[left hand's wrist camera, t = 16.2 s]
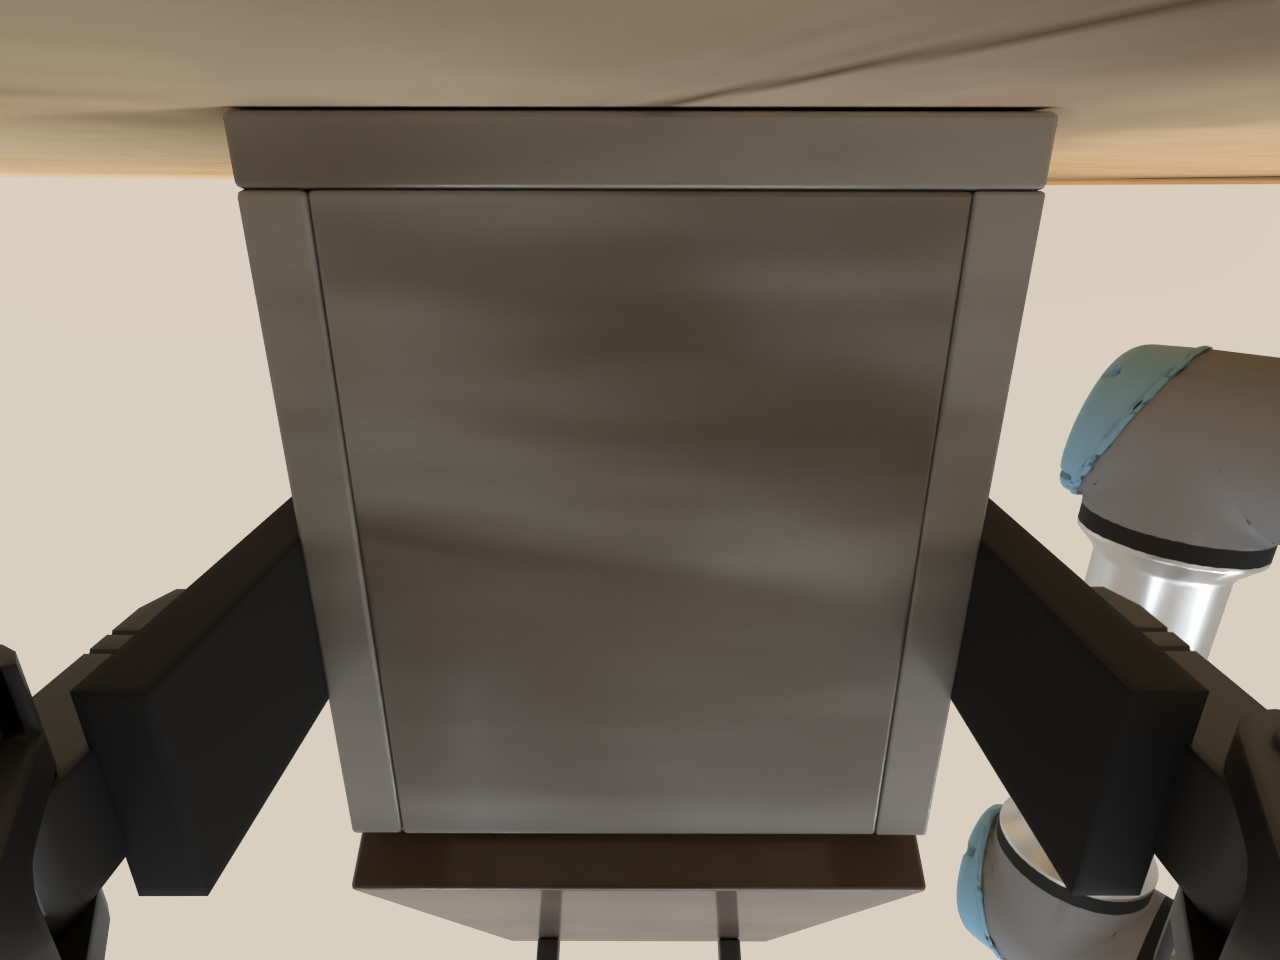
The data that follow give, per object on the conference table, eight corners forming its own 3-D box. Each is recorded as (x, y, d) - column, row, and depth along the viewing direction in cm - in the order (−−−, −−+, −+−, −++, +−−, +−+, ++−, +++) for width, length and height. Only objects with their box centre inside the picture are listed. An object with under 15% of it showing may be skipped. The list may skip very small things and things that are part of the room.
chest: (783, 166, 24) (763, 469, 28) (498, 166, 24) (517, 469, 28) (1062, 111, 8) (926, 836, 12) (217, 108, 8) (351, 835, 12)
